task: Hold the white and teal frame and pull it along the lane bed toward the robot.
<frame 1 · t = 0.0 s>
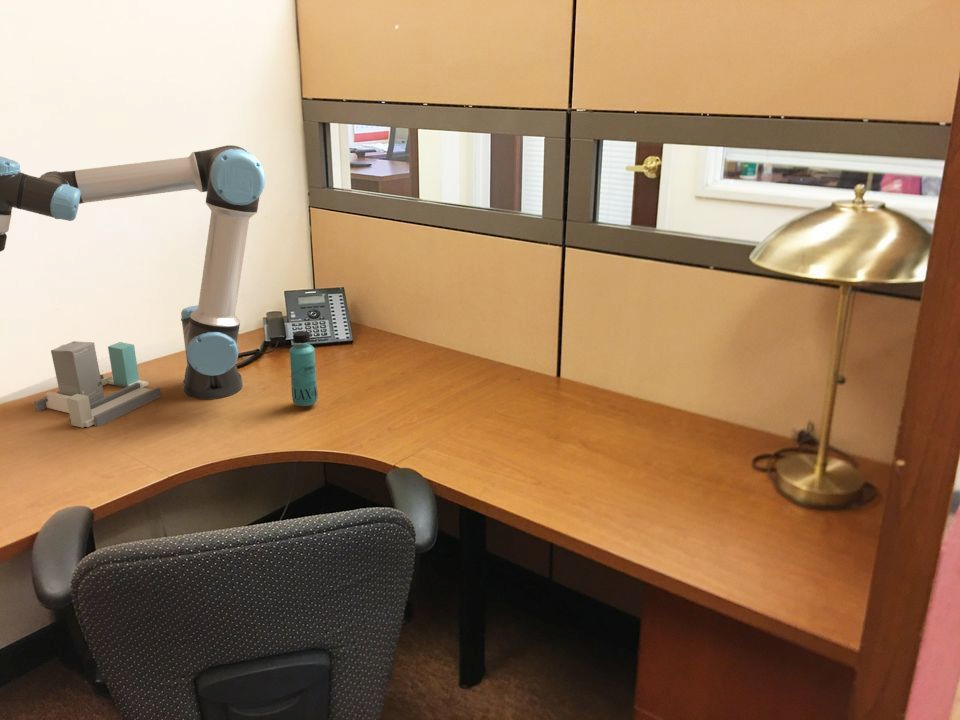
skincare box: (83, 404, 193), resting in white and teal frame
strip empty: (112, 396, 189), point 4 cm above the table, slide at 0.0 cm
beverage bottle: (305, 407, 195), on the table
white and teal frame: (96, 376, 195), point 6 cm above the table, slide at 0.0 cm
lane bed: (100, 403, 194), on the table
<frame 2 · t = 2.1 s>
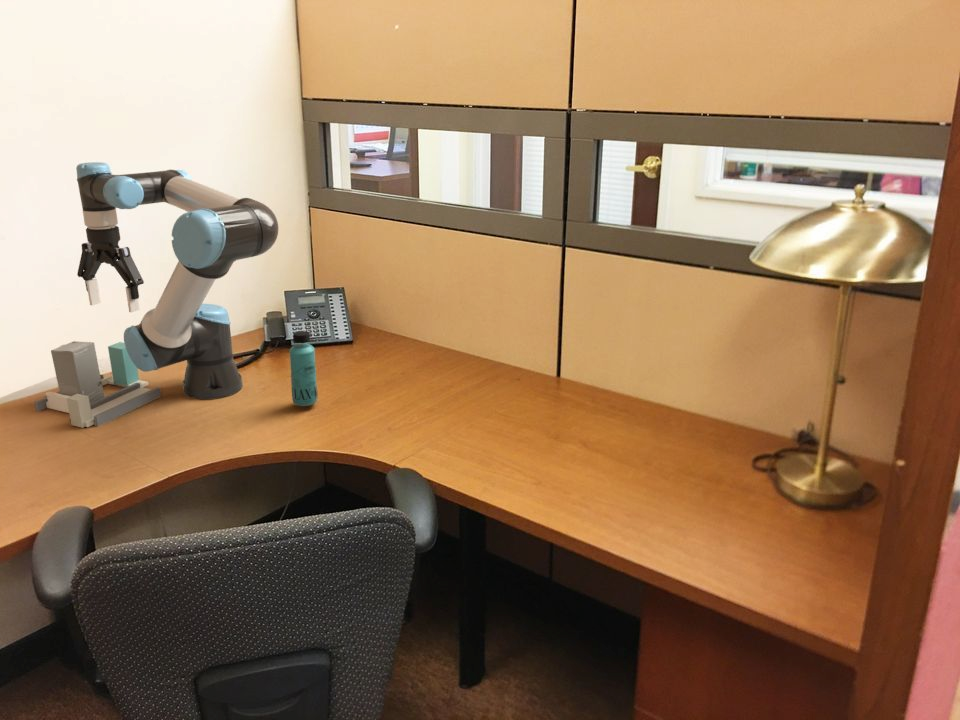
hand: (114, 307, 197), 22 cm above the table, tool pointing down, fingers open, 13 cm apart
nothing on the table moved.
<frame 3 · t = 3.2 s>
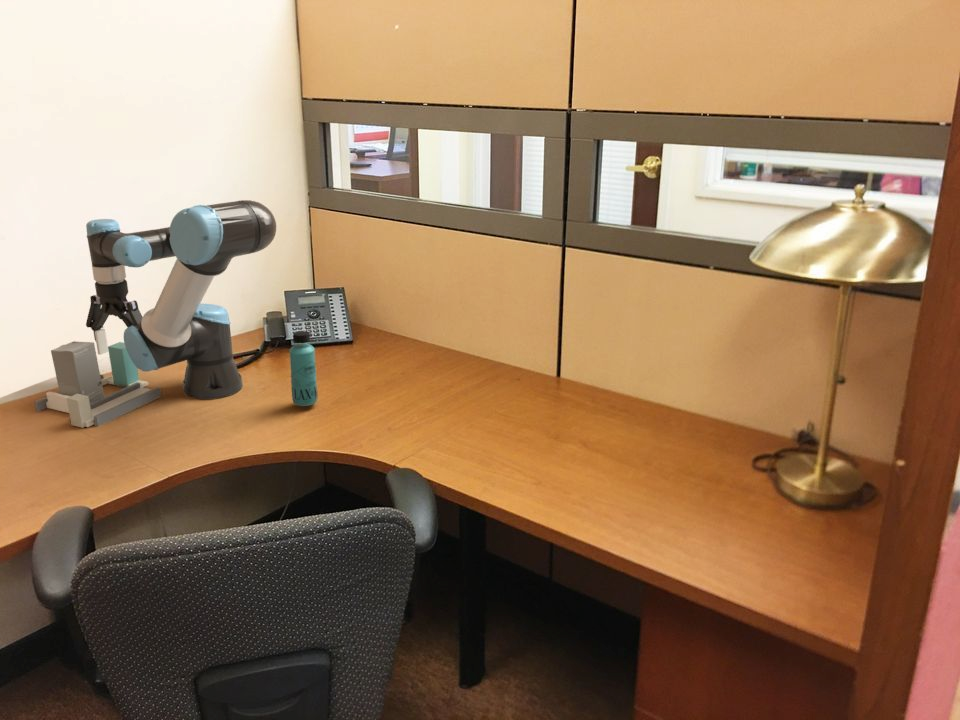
hand: (122, 357, 203), 8 cm above the table, tool pointing down, fingers open, 13 cm apart
nothing on the table moved.
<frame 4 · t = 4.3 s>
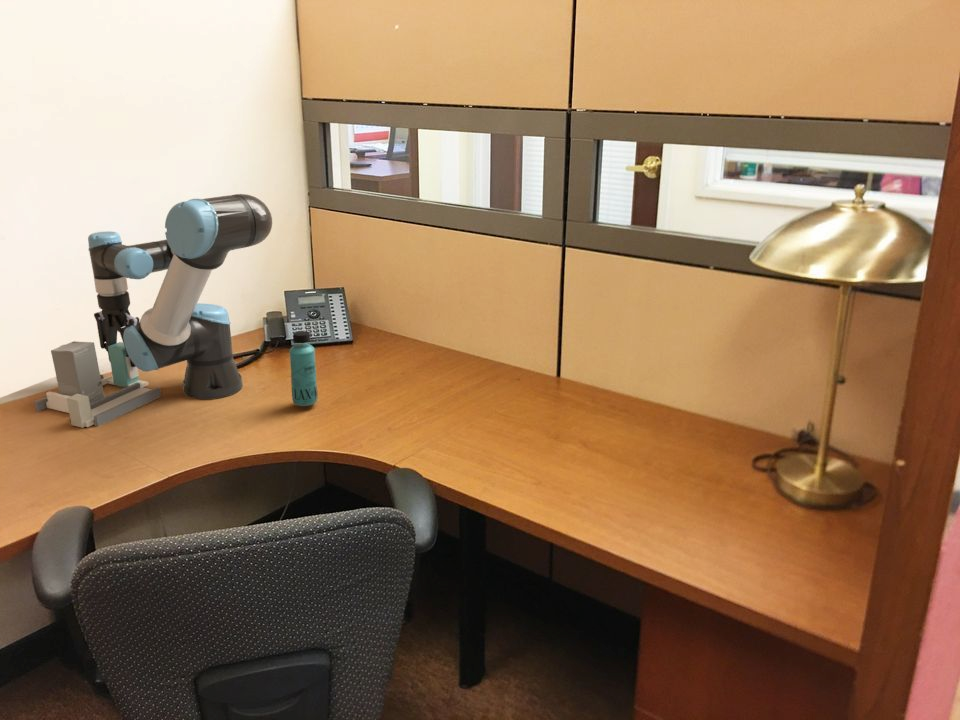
hand: (125, 375, 204), 3 cm above the table, tool pointing down, fingers closed on white and teal frame, 5 cm apart
white and teal frame: (96, 376, 195), point 6 cm above the table, slide at 0.0 cm, touching gripper
everything else where it was.
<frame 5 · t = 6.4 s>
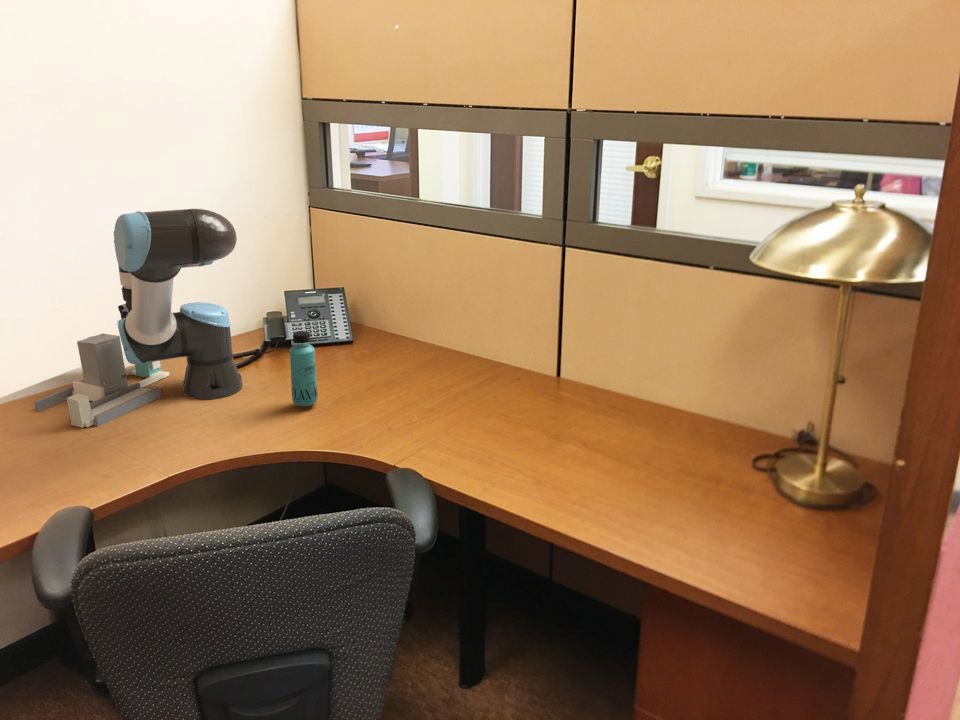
hand: (148, 366, 211), 3 cm above the table, tool pointing down, fingers closed on white and teal frame, 5 cm apart
skincare box: (108, 395, 199), resting in white and teal frame
white and teal frame: (119, 366, 202), point 6 cm above the table, slide at 7.6 cm, touching skincare box, gripper
everything else where it was.
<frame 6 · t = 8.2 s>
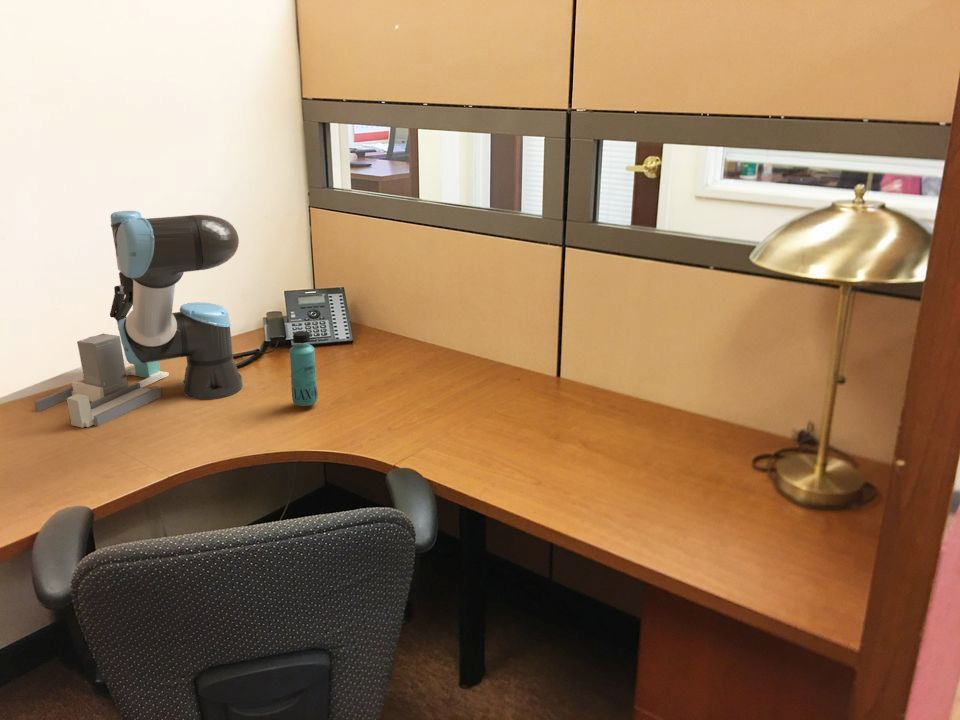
hand: (145, 345, 208), 9 cm above the table, tool pointing down, fingers open, 13 cm apart
skincare box: (108, 395, 199), resting in white and teal frame
white and teal frame: (119, 366, 202), point 6 cm above the table, slide at 7.4 cm
everything else where it was.
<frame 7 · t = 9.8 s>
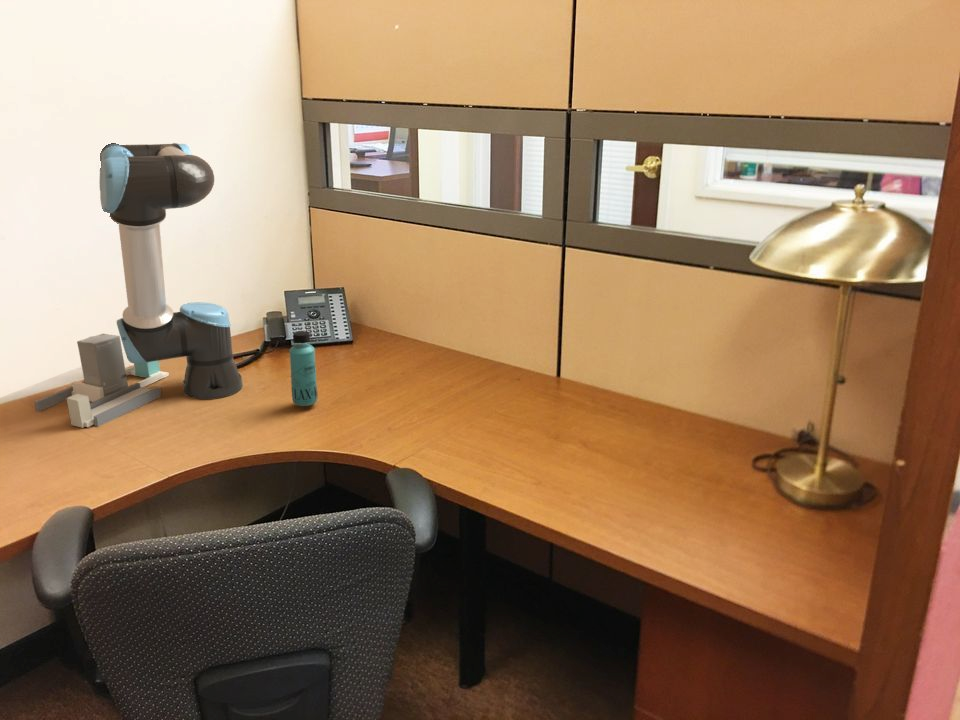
hand: (128, 266, 217), 27 cm above the table, tool pointing down, fingers open, 13 cm apart
nothing on the table moved.
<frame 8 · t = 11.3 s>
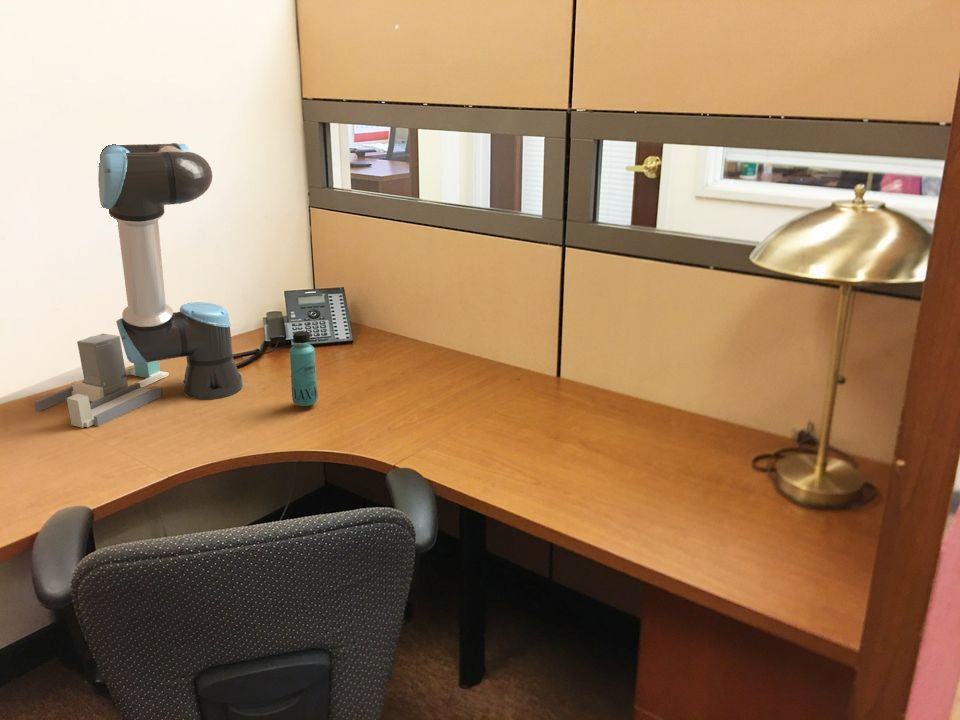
hand: (128, 266, 219), 27 cm above the table, tool pointing down, fingers open, 13 cm apart
nothing on the table moved.
at the end: white and teal frame slide at 7.4 cm; skincare box inside the target area (1.8 cm from its centre), resting in white and teal frame; skincare box tilted 0° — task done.
